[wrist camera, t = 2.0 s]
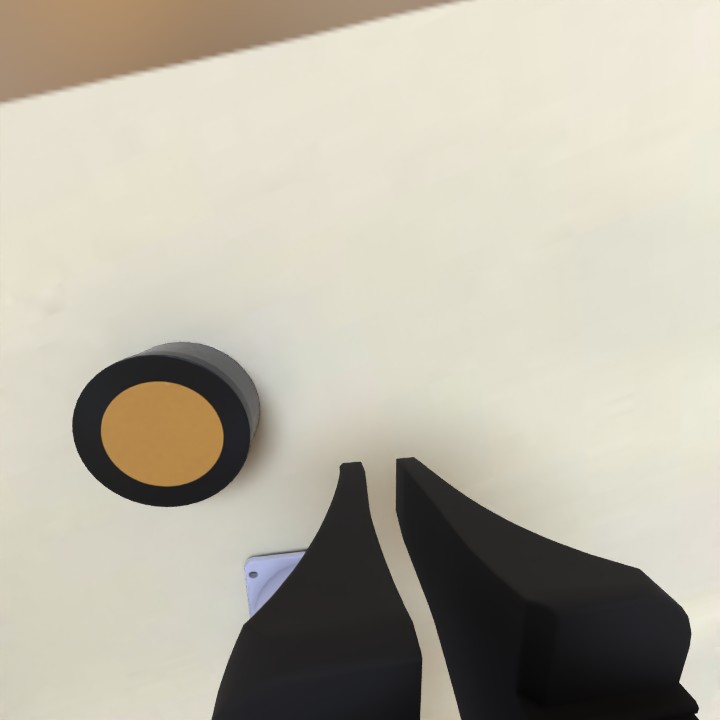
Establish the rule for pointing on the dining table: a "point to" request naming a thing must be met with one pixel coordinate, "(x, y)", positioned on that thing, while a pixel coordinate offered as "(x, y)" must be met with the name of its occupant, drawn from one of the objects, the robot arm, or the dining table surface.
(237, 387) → the tin
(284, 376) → the dining table surface
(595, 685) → the robot arm
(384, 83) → the dining table surface
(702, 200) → the dining table surface
